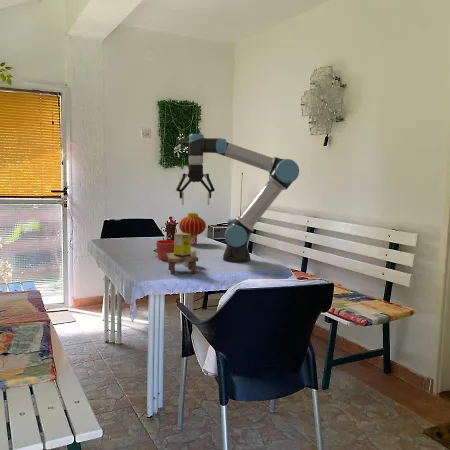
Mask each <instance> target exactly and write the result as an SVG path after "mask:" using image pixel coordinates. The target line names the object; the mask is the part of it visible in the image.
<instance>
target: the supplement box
mask: <svg viewBox="0 0 450 450" xmlns="http://www.w3.org/2000/svg"><path fill="white" fill-rule="evenodd" d="M173 236H174V237H173V239H174V240H173V241H174V255H175V256H180V257H185V256H190V255H191V250H192V245H191V234H188V233H183V232H177V233H176V232H175V233H174V235H173Z"/></svg>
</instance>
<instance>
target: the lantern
mask: <svg viewBox="0 0 450 450" xmlns="http://www.w3.org/2000/svg"><path fill="white" fill-rule="evenodd" d="M178 228H179V230H180V231H181V233H188V234H191V246H197V245H198V235H201V234H203V232H205V230H206V228H207V223H206V222H205V220H204V219H203V218H201V217H199V214H198V213H195V212H189V213H187V216H185V217H183V218H182V219H181V220H180V221H179V224H178Z"/></svg>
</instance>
